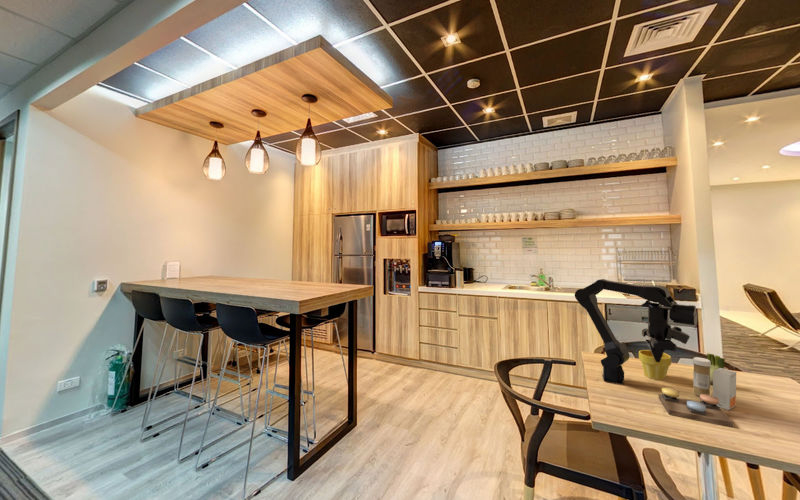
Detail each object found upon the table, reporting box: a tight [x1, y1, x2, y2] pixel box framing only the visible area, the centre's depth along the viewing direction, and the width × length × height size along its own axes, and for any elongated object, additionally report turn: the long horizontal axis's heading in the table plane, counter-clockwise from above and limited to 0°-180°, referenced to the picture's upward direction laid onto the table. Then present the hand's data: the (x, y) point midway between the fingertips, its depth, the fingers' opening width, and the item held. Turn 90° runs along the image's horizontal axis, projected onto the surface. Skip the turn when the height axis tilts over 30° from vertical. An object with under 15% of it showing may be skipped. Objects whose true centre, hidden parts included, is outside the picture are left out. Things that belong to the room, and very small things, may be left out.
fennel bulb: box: [706, 352, 726, 386], centre depth 120 cm, size 6×5×12 cm
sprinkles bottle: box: [692, 356, 711, 398], centre depth 111 cm, size 5×5×14 cm
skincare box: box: [712, 368, 737, 411], centre depth 104 cm, size 6×4×12 cm
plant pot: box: [638, 349, 672, 381], centre depth 127 cm, size 10×10×10 cm
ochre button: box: [661, 387, 680, 398], centre depth 105 cm, size 4×4×2 cm
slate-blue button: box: [687, 400, 706, 412], centre depth 98 cm, size 4×4×2 cm
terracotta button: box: [699, 394, 719, 405], centre depth 101 cm, size 4×4×2 cm
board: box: [658, 393, 734, 428], centre depth 100 cm, size 15×12×2 cm
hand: (657, 361), depth 112 cm, fingers closed
